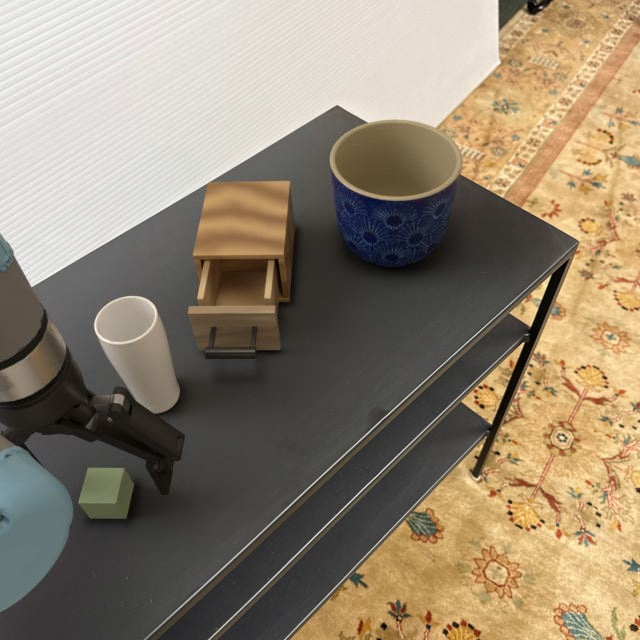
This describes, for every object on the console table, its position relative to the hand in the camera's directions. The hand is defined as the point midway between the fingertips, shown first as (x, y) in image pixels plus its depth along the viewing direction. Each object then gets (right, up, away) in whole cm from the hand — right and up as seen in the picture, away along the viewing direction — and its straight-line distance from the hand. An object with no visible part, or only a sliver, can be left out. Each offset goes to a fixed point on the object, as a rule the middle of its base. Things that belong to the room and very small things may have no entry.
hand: (103, 482), depth 67 cm
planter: (+33, +28, +27) cm, 51 cm away
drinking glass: (+3, +7, +12) cm, 14 cm away
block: (0, -3, +3) cm, 4 cm away
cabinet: (+13, +25, +25) cm, 38 cm away
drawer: (+13, +17, +17) cm, 27 cm away
